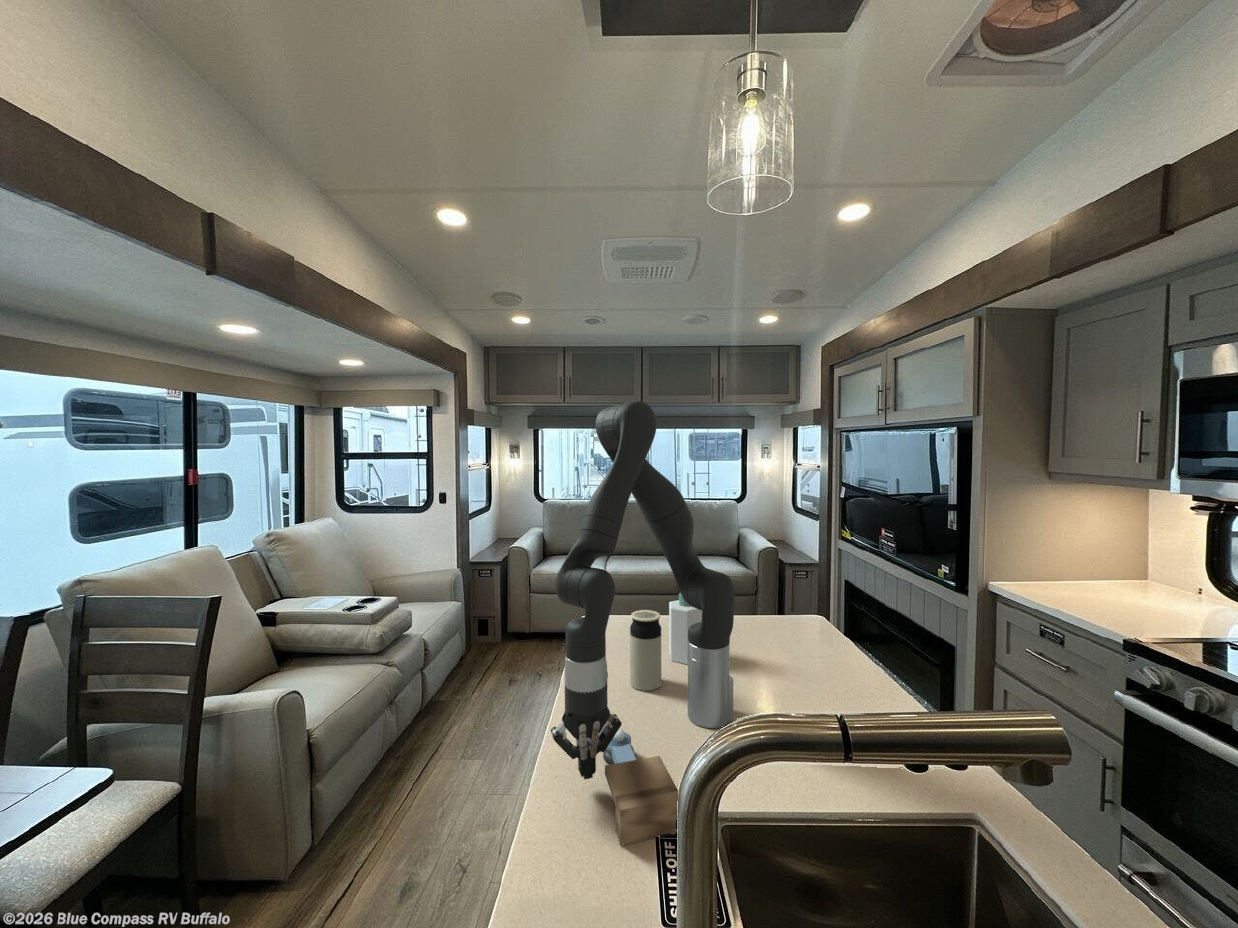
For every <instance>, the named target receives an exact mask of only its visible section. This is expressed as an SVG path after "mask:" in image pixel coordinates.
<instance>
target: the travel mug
mask: <svg viewBox="0 0 1238 928" xmlns="http://www.w3.org/2000/svg"><path fill="white" fill-rule="evenodd" d="M630 617H631V619H632V623H631V625H630V627H629V638H630V640H629V652H630V653H629V657H630V659H629V661H630V662H629V663H630V664H629V670H630V671H629V673H630V674H629V678H630V680H629V681H630V682H629V683H630V686H632V687H633V688H634V689H637V690H639V691H643V692H644V691H645V692H647V691H648V692H649V691H653V690H656V689H658V688H660V687H661V686H662V626H661V624H660V618H661V614H660V613H659V612H658V611H656V610H649V609H640V610H635V611H633V612H631V615H630Z"/></svg>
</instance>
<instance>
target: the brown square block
mask: <svg viewBox="0 0 1238 928" xmlns="http://www.w3.org/2000/svg"><path fill="white" fill-rule="evenodd" d="M665 765H666V764H665V763H664V761H663V760H662V757H661V756H660V755H657V756H651V757H645V758H644V757H643V758H639V759H636V760H633V761H627V762H621V763H616V764H606V765H604V776H605V778H606V782H607V785H608V787H609V790H610V794H611V797H612V798H613V802H614V805H615V806H614V807H615V833H616V835H617V836H618V837H617V839H619V840H618V842H620V843H619V846H620V845H623V844H627V845H630V844H629V843H632V844H636V843H639V842H645V841H650V840H654V839H657V838H656V837H658V836H661V835H663V834H665V833H666V834H667V833H669V834H672V835H677V834H676V817H677V801H678V791H679V790H678V788H677V786H676V784H675V782H674V780H673V778H672V776H671V775H670V773H669V771H668V769H667V767H666V766H665ZM623 846H624V845H623Z"/></svg>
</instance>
